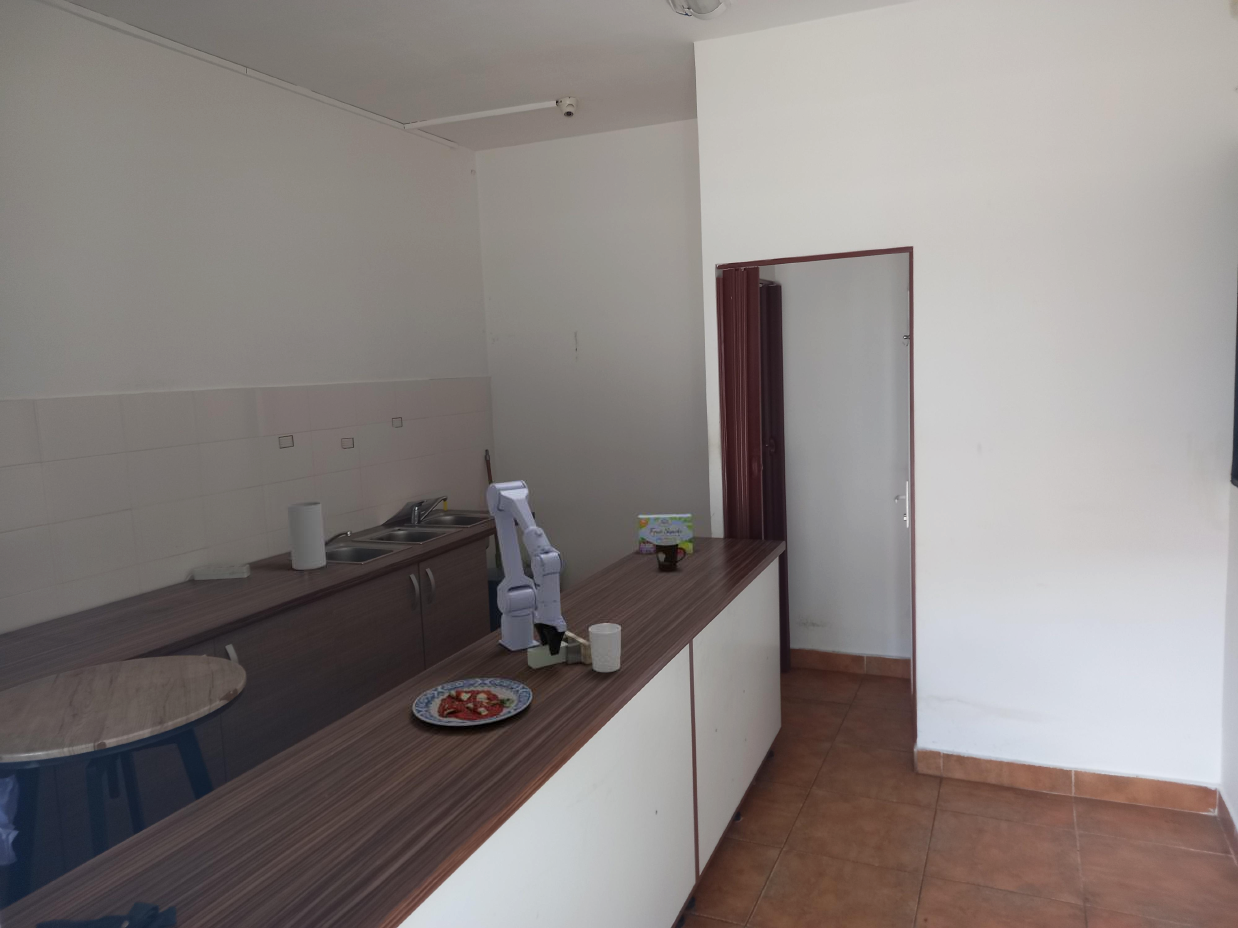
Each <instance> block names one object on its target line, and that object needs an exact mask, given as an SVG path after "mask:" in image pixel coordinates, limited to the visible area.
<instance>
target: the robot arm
mask: <svg viewBox="0 0 1238 928" xmlns="http://www.w3.org/2000/svg"><path fill="white" fill-rule="evenodd" d="M529 499H530V493H529V487H528V485H527V483H526V482H525V481H524V480H522V479H519V480H515V481H508V482H507V481H506V482H499V483H490V484H489V486H488V488H487V490H486V501H487V507H488V512H489V515H490V516H492V517H494V521H495V526H496V533H497V538H498V544H499V549H500V555H501V561H502V566H503V573H504V578H503V579H502V581H501V582H500V583H499V585H497V587H496V591H497V598H496V600H497V601H496V602H497V607H498V610H499V611H500V612H501V613H502V615H501V618H500V625H501V627H500V629H501V639H499V641H498V642H499V644H501V645H503V646H504V647H506V648H507V649H508V650H510V651H512V652H514V651H515V652H516V651H519V650H524V649H530V648H535V647H539V646H540V643H541V646H544V645H549V651H550V654H551V656H553V655H558V654H559V652H560V647H561V642H562V639H563V636H564V634H565V632H566V631H568V630H567V628H568V627H567V623H566V621H565V620H564V618H563V616H562V613H561V612H562V610H561V608H562V607H561V593H560V592H561V591H560V574H561V573H562V571H563V568H564V561H563V557H562V554H561V553H560V552H559V551H558V550H557V549H555V547H554V546H553V547H552V546H551V543H550V542H549V539H548V537H547V535H546V533H545V532H544V530H543V528H541V527H538V526H537V524H536V522H535V521H536V520H535V518H534V517H533V514H532V512H531V508H530V506H529ZM515 520H516V522H517V523H518V526H519V527H520V529H521V530H522V532H523V535H522V542H523V544H524V546H525V548H526V550H527V552H528V554H529V557H530V558H531V563H530V568H531V572H532V575H533V579H532V578H530V577H528V576H526V575H525V574H524V567H523V562H522V556H521V552H520V551H521V550H520V544H519V539H518V533H517V530H516V524H515ZM535 584H536V586H535ZM535 608H537V610H535ZM533 618H534V619H533ZM534 629H535V630H536V632H537V634H538V636H539V640H540V642H538V641H536V640H535V639H534Z"/></svg>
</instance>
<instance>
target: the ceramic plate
mask: <svg viewBox="0 0 1238 928" xmlns="http://www.w3.org/2000/svg"><path fill="white" fill-rule="evenodd" d="M532 698H533V693H532V690H531V689H530V688H529V687H528V686H526V685H525V684H523V683H520V682H518V681H514V680H511V679H504V678H498V677H497V678H495V677H484V678H483V677H482V678H480V677H479V678H469V679H463V680H456V681H452V682H449V683H444V684H442V685H438V686H436V687H434V688H431V689H428V690H427V691H425V692H423V693H422V694H421V695H420V696H418V697H417V698H416V699H415V701H414V702H413V704H412V711H413V714H414V715H415V716H416V717H417V718H419V719H420V720H422V721H424V722H427V723H430V724H434V725H439V726H451V727H452V726H453V727H466V726H475V725H483V724H489V723H492V722H497V721H501V720H504V719H506V718H509V717H512V716H514V715H515V714H518V713H519V712H521V711H523V710H524V709H526V707H528V706H529V704H530V703H531V701H532Z"/></svg>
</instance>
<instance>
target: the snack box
mask: <svg viewBox="0 0 1238 928" xmlns="http://www.w3.org/2000/svg"><path fill="white" fill-rule="evenodd" d="M637 521H638V524H637V525H638V528H637V529H638V553H639V555H652V554H653V555H654V554H655V555H657V553H656V547H655V542H657V541H662V540H674V541H678V542H679V546H678V548H680V547H681V548H683V549H684V550H685V552H686V554H692V553H694V547H693V546H694V545H693V544H694V541H693V537H694V536H693V517H692V513H676V514H675V513H673V514H672V513H671V514H667V513H664V514H639V515H637ZM678 554H684V552H683V550H682V549H679V550H678Z"/></svg>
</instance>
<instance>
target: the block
mask: <svg viewBox="0 0 1238 928" xmlns="http://www.w3.org/2000/svg"><path fill="white" fill-rule="evenodd" d="M566 645H568V644H567V643H565V642H563V641H562V642H561V647H560V652H559V654H558V655H553V656H551V654H550V651H549V645H544V646H542V645H541V646H540V645H539V646H534V647H530V648H526V649H527V651H526V652H527V664H528V666H529V667H531V668H532V669H538V668H543V667H546V666H551V665H555V664H560V663H563V662H564V663H565V662H566Z"/></svg>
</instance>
